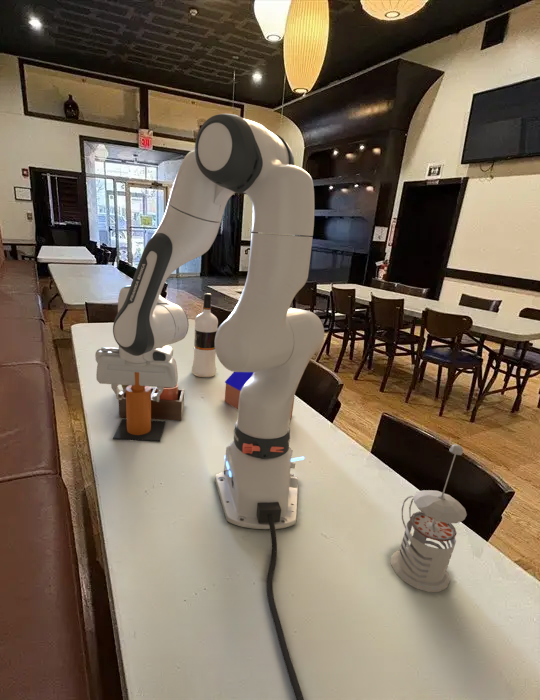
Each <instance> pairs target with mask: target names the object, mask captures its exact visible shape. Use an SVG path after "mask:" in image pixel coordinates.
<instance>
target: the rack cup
mask: <svg viewBox="0 0 540 700" xmlns="http://www.w3.org/2000/svg"><path fill="white" fill-rule="evenodd" d="M178 389H179V384H178V383H177V384H176V386H175V387H173V388H170V387H164V389H163V391H162V393H161V394H160V400H178ZM158 391H159V390H157V393H158Z"/></svg>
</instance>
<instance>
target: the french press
mask: <svg viewBox="0 0 540 700" xmlns="http://www.w3.org/2000/svg"><path fill="white" fill-rule="evenodd" d="M449 452H450V453H451V454H453V458H452V460H451V464H450V467H449V471H448V475H447V477H446V481H445V484H444V487H443V490H442V491H439V490H432V489H431V490H430V489H428V490H427V489H426V490H425V489H423V490H420V491H416V493H414V495H409V496H407V497H406V498H405V499H404V500H403V501H402V506H401V520H402V524H403V527H404V529H405V530H404V533H403V536H402V540H401V542H400V543H401V544H400V548H399V549H398V550H395V551H394V552H393V553H392V555H391V557H390V564H391V566H392V569H393V571H394V573H395V574H396V576H398V577H399V578H400V579H401V580H402V581H403V582H404V583H406V584H407V585H410V586H411V587H414V588H415V589H417V590H421V591H423V592H428V593H440V592H442V591H443V590H446V589H447V588H448V587H449V584H450V582H451V579H450V574H449V572H448V570H447V569H448V567H449V563H450V560H451V557H452V554H453V553H454V549H455V546H456V543H457V539H456V536H457V534H458V533H457V529H456V527H455V526H454V524H459V523H460V522H463V521H464V520H466V517H467V515H468V513H467V511H466V508H465V507H464V506H463V505H462V504H461V503H460V502H459V500H457V499H455V498H454V497H452V496H451V495H450V494H448V493H445V491H446V488H447V485H448V482H449V478H450V475H451V472H452V469H453V465H454V462H455V459H456V456H461V455H463V453H464V448H463V447H462V446H461V445H460V444H455V443H454V444H452V445H451V446H450V447H449ZM411 498H412V499H411ZM408 499H411V501H410V503H409V507H408V512H409V514H408V515H409V520H408V521H407V522H406V523H405V520H404V507H405V503H406V502H407V501H408ZM413 503H414V505H415V506H416V507H417V508H418V510H419V511H416V512H413V513H412V514H411V512H412V511H411V510H412V505H413ZM412 528H413V530H414V531H413V533H412V534H411V532H412ZM427 539H430V540H427ZM434 541H437V542H439V543H440V544H439V543H437V542H434ZM430 545H431V546H430ZM441 545H442V546H443V547H442V546H441ZM447 546H448V547H447Z"/></svg>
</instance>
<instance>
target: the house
mask: <svg viewBox="0 0 540 700" xmlns="http://www.w3.org/2000/svg"><path fill="white" fill-rule="evenodd" d="M253 373H254V372H232V373H231V374H230V375H229V376H228V377H227V379H226V380H225V381H224V383H225V390H224V391H225V393H224V403H226V404H228V405H230V406H231V407H233V408H235V409H236V410H238V407H239V396H240V391H241V389H242V387H243V386H244V384H245V383H246V382H247V381H248V380H249V379H250V378H251V376H252V375H253ZM295 398H296V396H295V395H294V399H293V404H292V410H291V416H290V419H291V418H292V417H293V410H294V404H295V403H294V402H295Z"/></svg>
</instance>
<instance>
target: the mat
mask: <svg viewBox="0 0 540 700" xmlns="http://www.w3.org/2000/svg"><path fill="white" fill-rule="evenodd" d="M165 426H166V420H156V419H151V430H150V432H148V433H146V434H143V435H133V434H130V433H129V432H128V431H127V418H121V421H120V423H119V426H118V427H117V429H116V431H115V433H114V434H113V437H112V440H116V441H117V440H119V441H139V442H140V441H141V442H142V441H143V442H157V443H158V442H161V439H162V436H163V432H164V429H165Z"/></svg>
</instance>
